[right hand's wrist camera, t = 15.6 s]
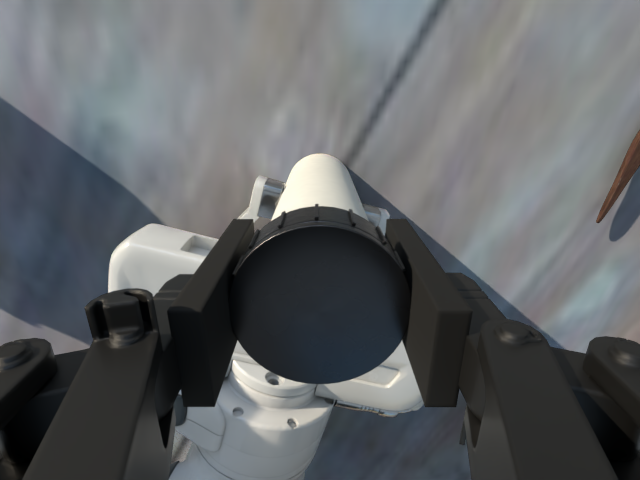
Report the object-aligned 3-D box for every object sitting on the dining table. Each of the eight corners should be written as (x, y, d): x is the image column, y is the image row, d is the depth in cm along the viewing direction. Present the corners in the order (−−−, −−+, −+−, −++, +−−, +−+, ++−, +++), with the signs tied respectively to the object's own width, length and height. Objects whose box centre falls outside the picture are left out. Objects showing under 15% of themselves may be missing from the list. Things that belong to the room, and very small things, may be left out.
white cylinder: (293, 219, 26) (259, 371, 12) (283, 158, 25) (229, 242, 10) (354, 212, 26) (399, 357, 11) (348, 149, 25) (391, 222, 10)
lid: (265, 358, 13) (257, 399, 11) (218, 224, 11) (199, 247, 10) (410, 330, 13) (424, 368, 11) (385, 187, 11) (398, 203, 9)
